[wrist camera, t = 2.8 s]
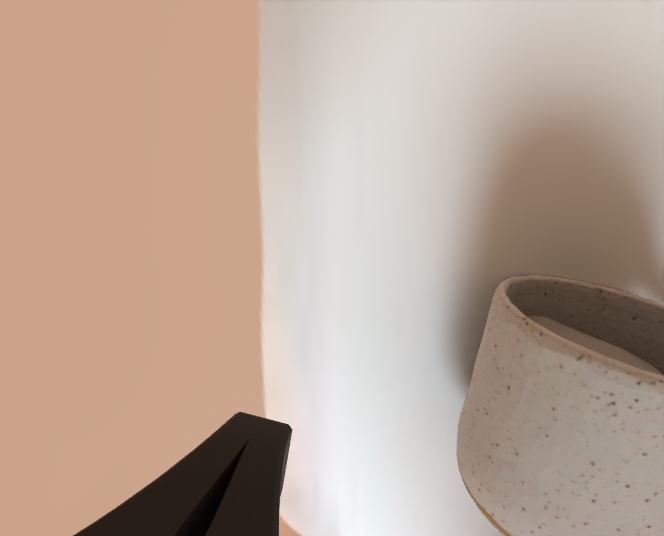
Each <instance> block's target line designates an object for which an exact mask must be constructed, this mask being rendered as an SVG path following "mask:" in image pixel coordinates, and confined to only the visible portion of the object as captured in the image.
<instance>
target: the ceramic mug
mask: <svg viewBox="0 0 664 536" xmlns="http://www.w3.org/2000/svg"><path fill="white" fill-rule="evenodd" d="M457 459H458V466H459V471H460V473H461V476H462V479H463V482H464V484H465V486H466V488H467V490H468V492H469V494H470V495H471V497H472V498H473V500H474V502H475V503H476V505H477V506H478V508H479V509H480V510H481V511H482V513H483V514H484V515H485V516H486V517H487V519H488V520H489V521H490V522H491V523H492V524H493V525H494V526H495V527H496V528H497V529H498V530H499V531H500V532H501V533H502V534H503V535H504V536H664V305H663V304H660V303H658V302H655V301H652V300H648V299H645V298H642V297H639V296H637V295H633V294H630V293H627V292H624V291H620V290H617V289H614V288H608V287H603V286H598V285H594V284H590V283H587V282H583V281H579V280H573V279H566V278H559V277H553V276H541V275H528V276H516V277H511V278H508V279H505V280H504V281H502V282H501V283H500V284H499V285H498V287H497V288H496V289H495V292H494V296H493V299H492V303H491V307H490V310H489V314H488V318H487V322H486V325H485V329H484V333H483V337H482V340H481V344H480V347H479V351H478V354H477V357H476V361H475V365H474V370H473V374H472V379H471V383H470V387H469V390H468V393H467V396H466V399H465V402H464V406H463V409H462V412H461V415H460V420H459V425H458V438H457Z"/></svg>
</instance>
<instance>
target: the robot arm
mask: <svg viewBox="0 0 664 536" xmlns="http://www.w3.org/2000/svg"><path fill="white" fill-rule="evenodd" d="M291 434H292V429H291V427H290V426H289V424H285V423H281V422H277V421H273V420H270V419H266V418H262V417H258V416H254V415H250V414H246V413H242V412H239V413H237V414H235V415H234V416H233V417H232V418H230V419H229V420H228V421H227V422H226V423H225V424H224V425H222V426H221V427H220V428H219V429H218V430H217V431H216V432H214V433H213V434H212V435H211V436H210V437H209V438H207V439H206V440H205V441H204V442H203V443H202V444H200V445H199V446H198V447H197V448H195V449H194V450H193V451H192V452H190V453H189V454H188V455H187V456H185V457H184V458H183V459H182V460H180V461H179V462H178V463H177V464H175V465H174V466H173V467H171V468H170V469H169V470H168V471H166V472H165V473H164V474H162V475H161V476H160V477H159V478H157V479H156V480H155V481H153V482H152V483H150V484H149V485H148V486H146V487H145V488H143V489H142V490H140V491H139V492H138V493H136V494H135V495H133V496H132V497H131V498H129V499H128V500H127V501H125V502H124V503H122V504H121V505H119V506H118V507H116V508H115V509H114V510H112V511H111V512H109V513H108V514H106V515H105V516H103V517H102V518H100V519H99V520H97V521H96V522H94V523H93V524H91V525H89V526H88V527H86V528H85V529H83V530H81V531H80V532H78V533H77V534H75V535H73V536H279V505H280V496H281V492H282V488H283V482H284V476H285V470H286V464H287V458H288V452H289V446H290V440H291Z"/></svg>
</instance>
